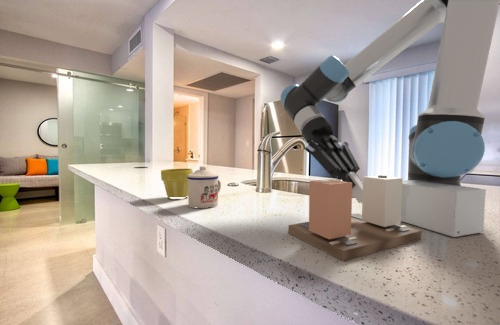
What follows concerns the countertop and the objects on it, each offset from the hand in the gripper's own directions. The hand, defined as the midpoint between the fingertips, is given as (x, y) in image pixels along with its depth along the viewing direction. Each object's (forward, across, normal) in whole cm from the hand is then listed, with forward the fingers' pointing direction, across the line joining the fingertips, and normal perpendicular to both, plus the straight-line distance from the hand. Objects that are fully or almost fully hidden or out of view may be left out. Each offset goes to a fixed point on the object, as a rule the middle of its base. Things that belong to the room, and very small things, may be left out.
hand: (365, 199), depth 53 cm
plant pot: (-31, +30, -40) cm, 59 cm away
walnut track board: (+6, +7, -2) cm, 10 cm away
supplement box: (0, -15, -2) cm, 16 cm away
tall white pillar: (+5, 0, 0) cm, 5 cm away
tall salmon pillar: (+6, +14, 0) cm, 15 cm away
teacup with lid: (-21, +24, -30) cm, 44 cm away
